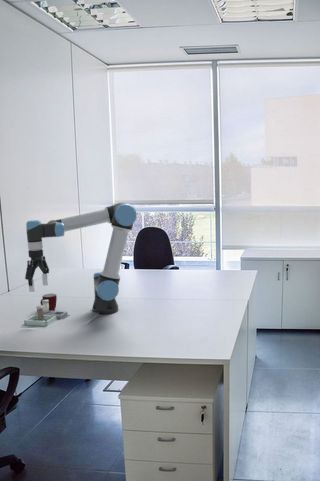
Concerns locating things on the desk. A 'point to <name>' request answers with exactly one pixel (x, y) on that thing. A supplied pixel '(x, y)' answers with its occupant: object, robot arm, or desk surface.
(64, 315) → the block
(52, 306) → the mug
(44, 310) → the fuse
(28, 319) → the tray
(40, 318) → the fuse
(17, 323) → the desk surface
